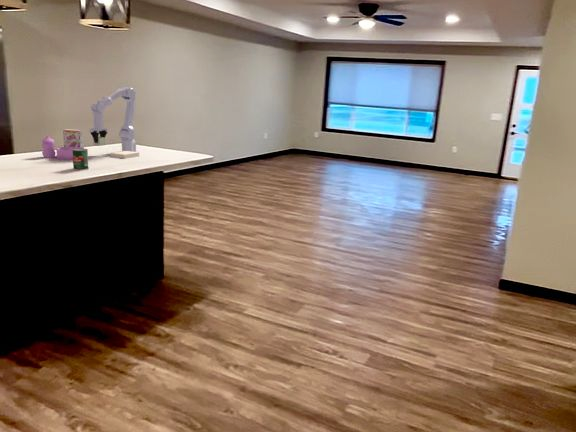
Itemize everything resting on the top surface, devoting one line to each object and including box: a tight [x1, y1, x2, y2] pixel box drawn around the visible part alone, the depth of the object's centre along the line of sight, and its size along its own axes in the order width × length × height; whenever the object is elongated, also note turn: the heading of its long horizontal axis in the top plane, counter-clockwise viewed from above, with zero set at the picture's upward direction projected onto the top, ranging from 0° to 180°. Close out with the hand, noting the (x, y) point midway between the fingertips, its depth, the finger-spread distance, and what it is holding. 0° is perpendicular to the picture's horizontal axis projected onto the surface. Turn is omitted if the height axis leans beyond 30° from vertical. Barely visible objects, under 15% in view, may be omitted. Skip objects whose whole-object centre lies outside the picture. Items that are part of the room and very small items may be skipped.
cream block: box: [109, 150, 140, 159], centre depth 330 cm, size 14×12×3 cm
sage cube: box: [92, 136, 106, 147], centre depth 326 cm, size 5×5×5 cm
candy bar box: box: [62, 128, 85, 149], centre depth 322 cm, size 11×5×16 cm, turn 84°
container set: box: [41, 135, 80, 161], centre depth 310 cm, size 25×15×13 cm, turn 87°
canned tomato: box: [72, 148, 89, 171], centre depth 279 cm, size 8×8×11 cm
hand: (99, 142), depth 327 cm, fingers closed on sage cube, 5 cm apart
